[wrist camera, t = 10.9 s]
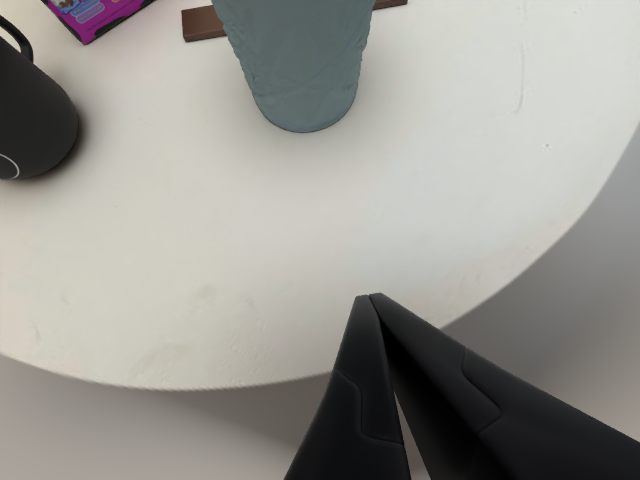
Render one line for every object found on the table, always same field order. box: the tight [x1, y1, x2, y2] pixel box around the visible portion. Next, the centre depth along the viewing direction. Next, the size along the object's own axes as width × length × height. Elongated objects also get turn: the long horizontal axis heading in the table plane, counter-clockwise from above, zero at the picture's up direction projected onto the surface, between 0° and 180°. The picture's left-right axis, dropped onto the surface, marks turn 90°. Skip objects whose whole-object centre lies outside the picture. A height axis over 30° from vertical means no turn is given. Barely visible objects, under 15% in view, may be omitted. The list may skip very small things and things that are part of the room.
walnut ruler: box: [181, 0, 408, 42], centre depth 27 cm, size 20×3×1 cm, turn 99°
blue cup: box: [211, 0, 376, 132], centre depth 19 cm, size 10×10×12 cm
